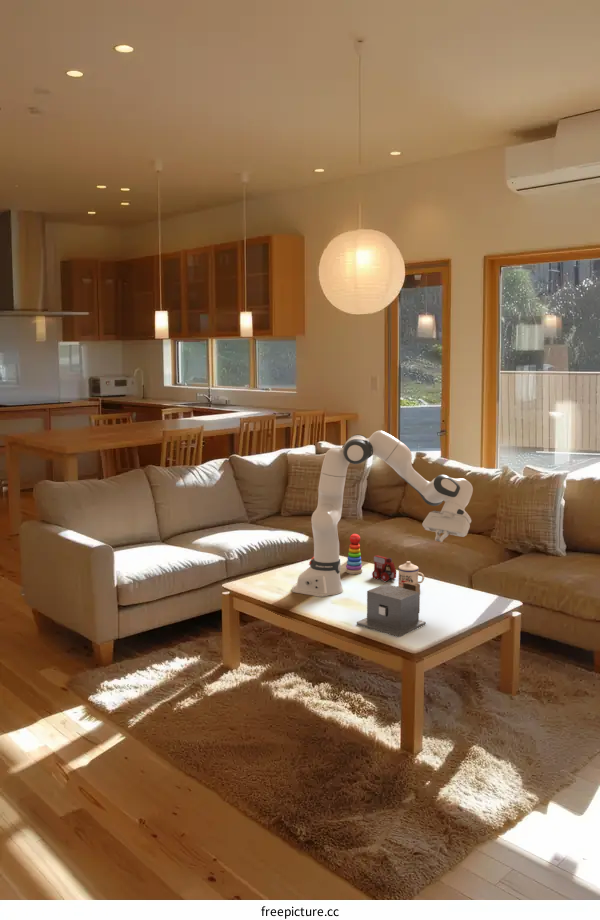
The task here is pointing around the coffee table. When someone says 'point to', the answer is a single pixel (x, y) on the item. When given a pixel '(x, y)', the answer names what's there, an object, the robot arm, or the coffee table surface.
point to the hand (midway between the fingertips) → (438, 540)
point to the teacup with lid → (409, 573)
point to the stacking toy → (354, 556)
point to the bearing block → (392, 610)
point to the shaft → (406, 585)
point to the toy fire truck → (383, 568)
